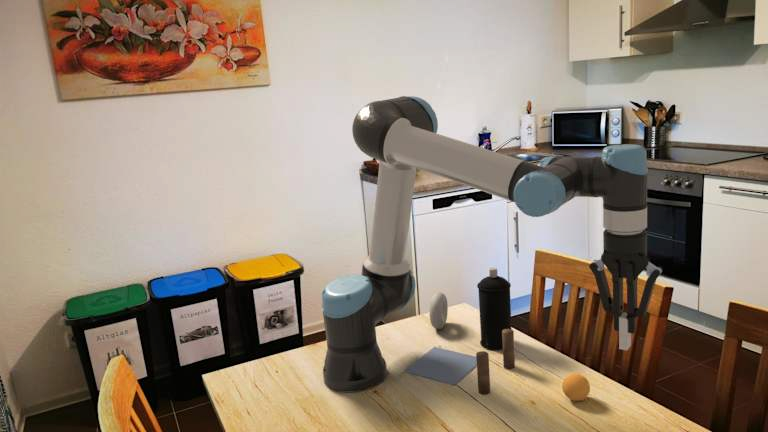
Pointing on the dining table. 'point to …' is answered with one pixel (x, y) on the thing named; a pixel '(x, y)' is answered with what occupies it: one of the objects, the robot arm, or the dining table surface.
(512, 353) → the post
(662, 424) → the dining table surface
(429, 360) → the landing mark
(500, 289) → the aerosol can
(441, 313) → the donut
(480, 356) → the post
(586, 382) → the ball
